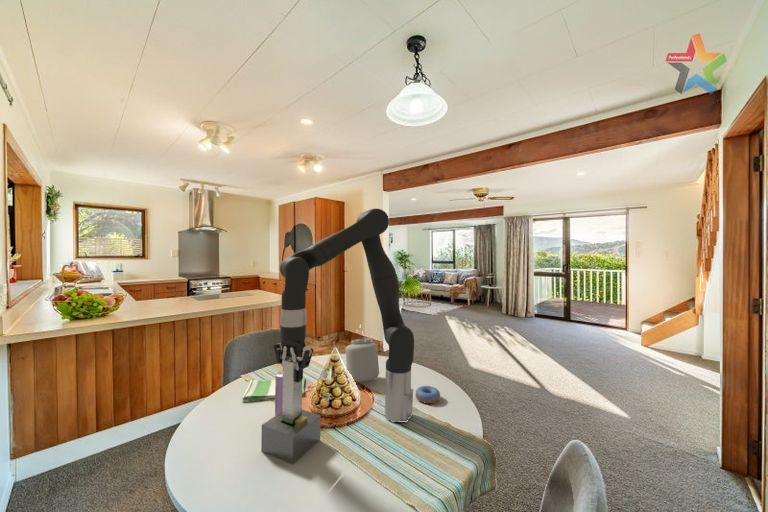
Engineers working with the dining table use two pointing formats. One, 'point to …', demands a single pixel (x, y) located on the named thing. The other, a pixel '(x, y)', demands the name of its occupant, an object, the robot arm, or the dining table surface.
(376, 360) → the jar
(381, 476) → the dining table surface
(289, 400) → the column
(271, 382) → the dish towel
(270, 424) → the base
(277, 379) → the beverage can
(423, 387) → the doughnut
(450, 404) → the dining table surface
